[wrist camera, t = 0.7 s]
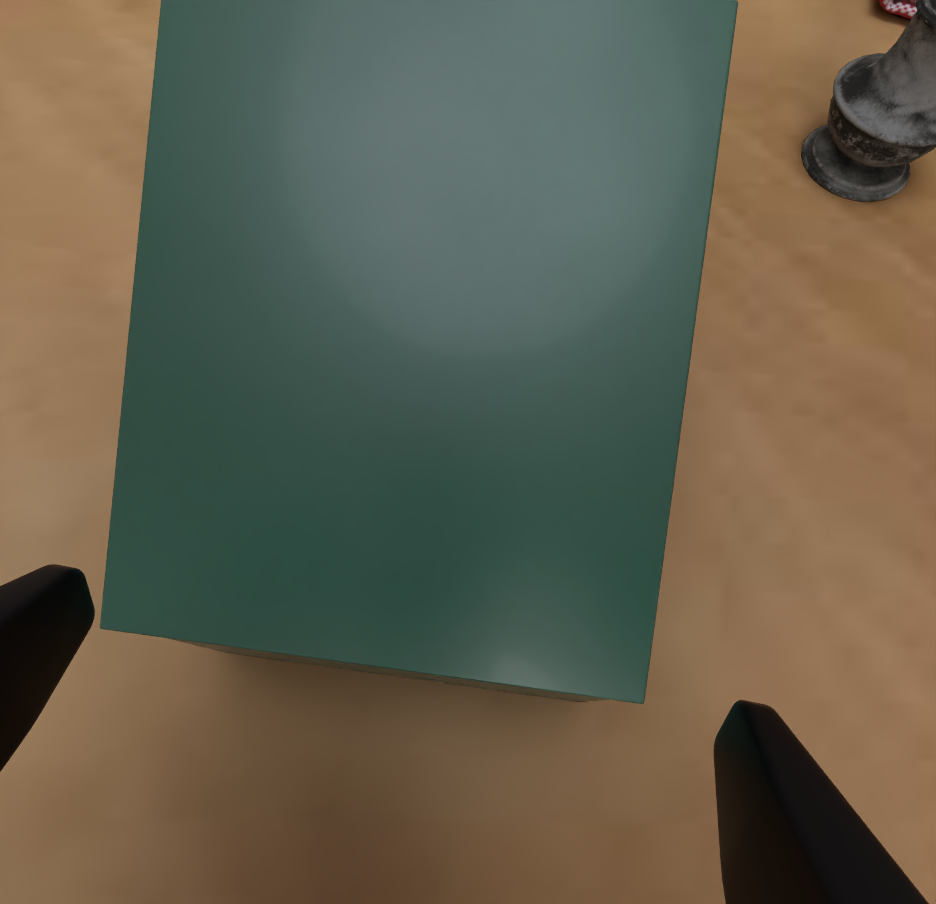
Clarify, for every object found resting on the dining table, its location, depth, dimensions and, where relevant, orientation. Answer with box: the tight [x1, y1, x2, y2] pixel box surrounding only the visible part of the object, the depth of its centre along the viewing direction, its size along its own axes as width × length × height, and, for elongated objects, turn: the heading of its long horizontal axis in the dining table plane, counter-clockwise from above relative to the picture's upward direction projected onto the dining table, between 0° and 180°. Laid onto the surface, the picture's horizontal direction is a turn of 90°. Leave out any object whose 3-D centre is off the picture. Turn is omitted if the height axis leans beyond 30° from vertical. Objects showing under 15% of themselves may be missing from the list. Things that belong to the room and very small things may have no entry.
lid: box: [100, 0, 738, 704], centre depth 14 cm, size 15×13×1 cm
